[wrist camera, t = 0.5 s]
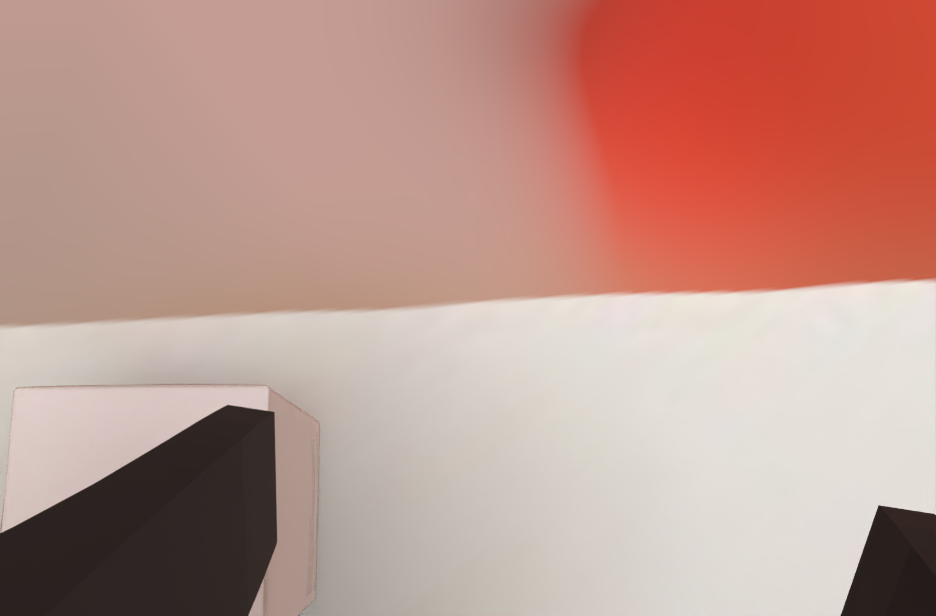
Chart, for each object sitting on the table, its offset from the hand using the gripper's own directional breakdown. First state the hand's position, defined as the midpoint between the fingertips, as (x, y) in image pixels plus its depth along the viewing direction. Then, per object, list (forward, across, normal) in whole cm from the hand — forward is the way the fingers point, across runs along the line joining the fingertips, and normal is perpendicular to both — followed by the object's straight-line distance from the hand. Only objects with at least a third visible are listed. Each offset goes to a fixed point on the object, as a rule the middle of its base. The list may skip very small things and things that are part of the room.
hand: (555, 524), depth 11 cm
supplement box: (+19, +13, +17) cm, 29 cm away
